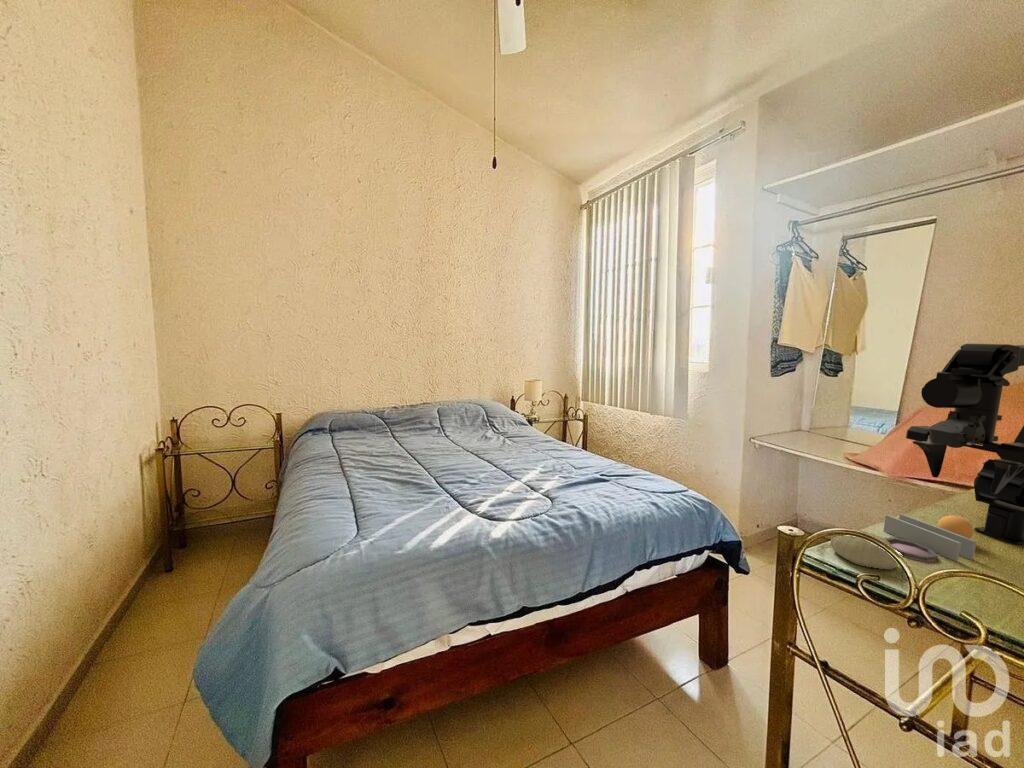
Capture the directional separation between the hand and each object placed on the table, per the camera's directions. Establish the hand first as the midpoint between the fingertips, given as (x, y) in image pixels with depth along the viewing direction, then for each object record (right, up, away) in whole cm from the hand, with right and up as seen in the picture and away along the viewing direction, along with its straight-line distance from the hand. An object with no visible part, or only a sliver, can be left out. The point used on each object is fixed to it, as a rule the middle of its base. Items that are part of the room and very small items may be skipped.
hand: (963, 485), depth 84 cm
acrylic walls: (-9, -11, -1) cm, 14 cm away
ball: (-1, -9, +1) cm, 9 cm away
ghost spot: (-15, -11, -4) cm, 19 cm away
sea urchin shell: (-27, -12, -8) cm, 31 cm away
